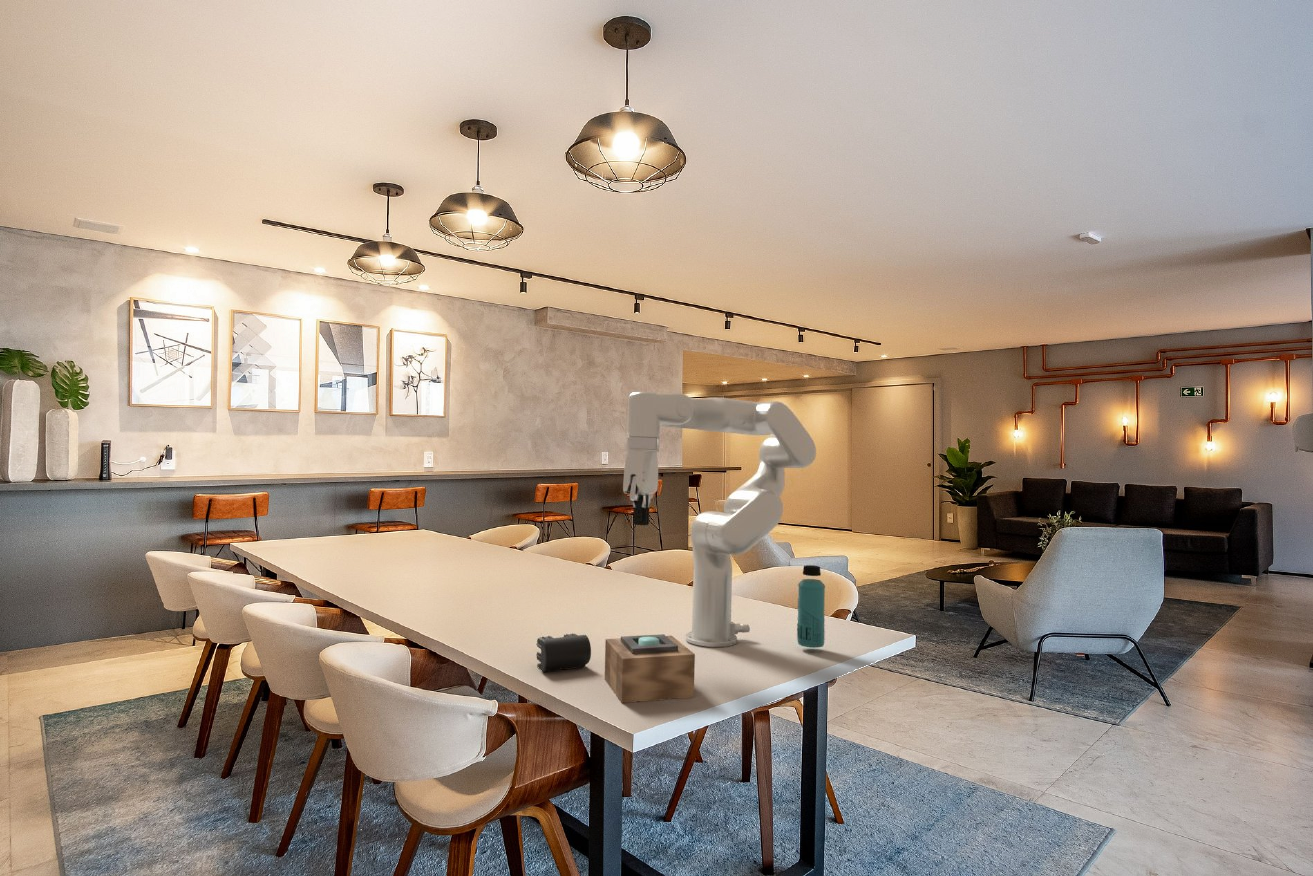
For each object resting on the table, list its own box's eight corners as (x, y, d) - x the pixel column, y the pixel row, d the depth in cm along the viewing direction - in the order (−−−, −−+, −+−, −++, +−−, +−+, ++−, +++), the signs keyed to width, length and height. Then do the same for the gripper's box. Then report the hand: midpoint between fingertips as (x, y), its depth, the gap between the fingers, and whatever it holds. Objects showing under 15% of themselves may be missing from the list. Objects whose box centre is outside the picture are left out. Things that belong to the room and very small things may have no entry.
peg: (654, 681, 140) (655, 636, 140) (660, 688, 136) (661, 641, 136) (635, 683, 139) (636, 637, 139) (640, 690, 135) (641, 642, 135)
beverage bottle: (827, 649, 168) (828, 564, 169) (821, 656, 162) (823, 568, 163) (800, 645, 171) (801, 562, 172) (793, 652, 165) (795, 566, 166)
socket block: (670, 674, 146) (671, 630, 146) (693, 697, 133) (695, 649, 133) (604, 679, 142) (605, 634, 142) (621, 703, 129) (622, 653, 129)
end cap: (545, 676, 143) (546, 643, 143) (534, 667, 149) (535, 634, 149) (591, 670, 148) (591, 638, 148) (578, 661, 154) (579, 630, 154)
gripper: (641, 445, 172) (639, 521, 172) (614, 444, 158) (612, 526, 158) (670, 446, 169) (668, 523, 169) (644, 445, 155) (642, 528, 155)
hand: (641, 524), depth 163 cm, fingers closed
